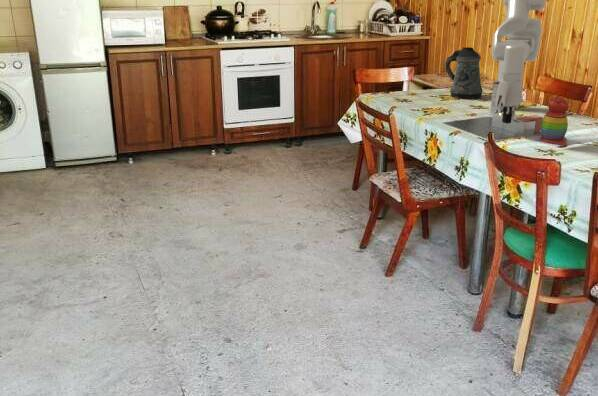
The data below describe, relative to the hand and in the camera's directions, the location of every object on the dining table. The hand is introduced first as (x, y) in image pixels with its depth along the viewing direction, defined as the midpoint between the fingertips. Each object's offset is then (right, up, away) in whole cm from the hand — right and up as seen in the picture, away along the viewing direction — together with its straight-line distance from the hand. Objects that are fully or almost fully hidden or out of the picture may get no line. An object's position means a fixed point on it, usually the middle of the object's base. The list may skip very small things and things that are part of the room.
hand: (506, 122), depth 234 cm
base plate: (-4, -2, +8) cm, 9 cm away
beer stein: (+3, +23, +73) cm, 77 cm away
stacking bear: (+14, -10, -11) cm, 20 cm away
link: (+4, -2, +5) cm, 7 cm away
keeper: (+8, -4, 0) cm, 9 cm away
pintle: (+1, 0, +10) cm, 10 cm away
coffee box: (+8, +6, +28) cm, 30 cm away
